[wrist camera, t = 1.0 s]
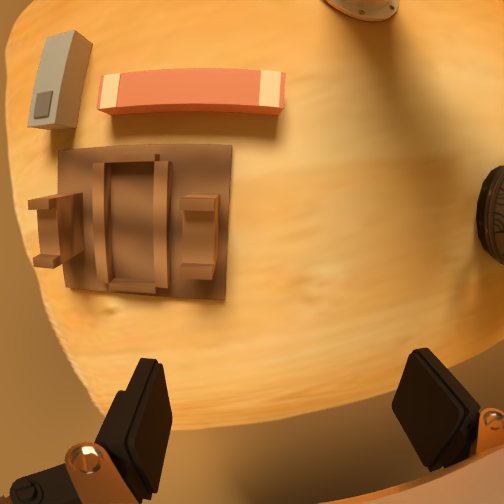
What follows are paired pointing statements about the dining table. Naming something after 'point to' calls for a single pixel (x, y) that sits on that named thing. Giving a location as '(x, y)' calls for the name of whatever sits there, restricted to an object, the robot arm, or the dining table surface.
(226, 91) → the orange banded bar
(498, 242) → the black backpack
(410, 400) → the robot arm
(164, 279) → the jig
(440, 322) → the dining table surface
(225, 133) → the dining table surface
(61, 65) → the grey rectangular block
